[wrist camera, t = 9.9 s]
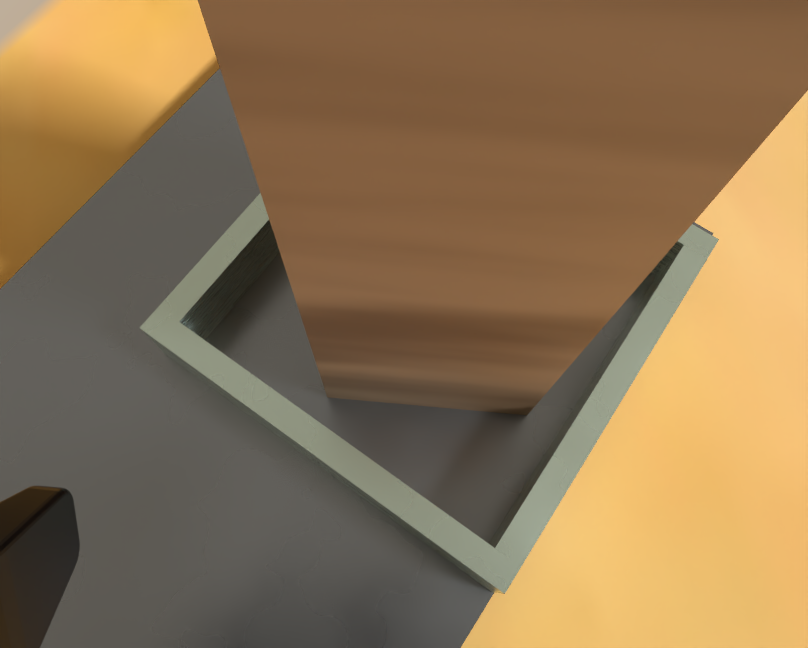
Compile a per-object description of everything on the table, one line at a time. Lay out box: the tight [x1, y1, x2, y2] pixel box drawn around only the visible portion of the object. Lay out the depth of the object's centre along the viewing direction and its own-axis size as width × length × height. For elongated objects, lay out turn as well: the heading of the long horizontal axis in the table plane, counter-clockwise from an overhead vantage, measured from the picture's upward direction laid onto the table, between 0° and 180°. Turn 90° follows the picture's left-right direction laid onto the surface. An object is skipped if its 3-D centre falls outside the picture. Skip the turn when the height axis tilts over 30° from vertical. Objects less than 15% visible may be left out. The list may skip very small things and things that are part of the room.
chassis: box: [0, 69, 719, 648], centre depth 19 cm, size 22×16×3 cm
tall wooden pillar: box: [198, 0, 808, 415], centre depth 13 cm, size 6×6×15 cm
